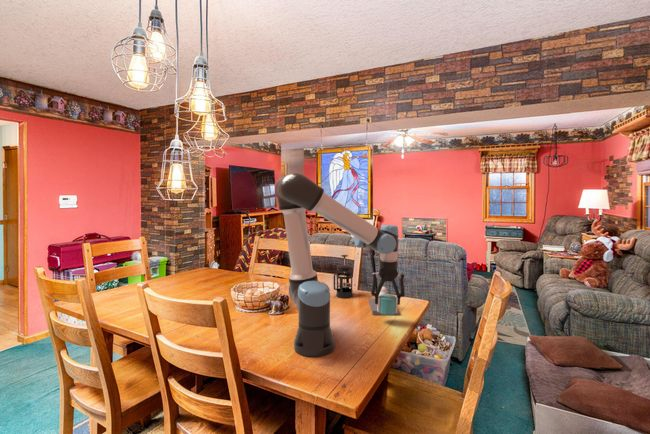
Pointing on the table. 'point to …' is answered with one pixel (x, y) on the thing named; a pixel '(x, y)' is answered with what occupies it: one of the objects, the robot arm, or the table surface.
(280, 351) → the table surface
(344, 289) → the french press
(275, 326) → the table surface
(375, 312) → the post base
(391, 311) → the teal cylinder
